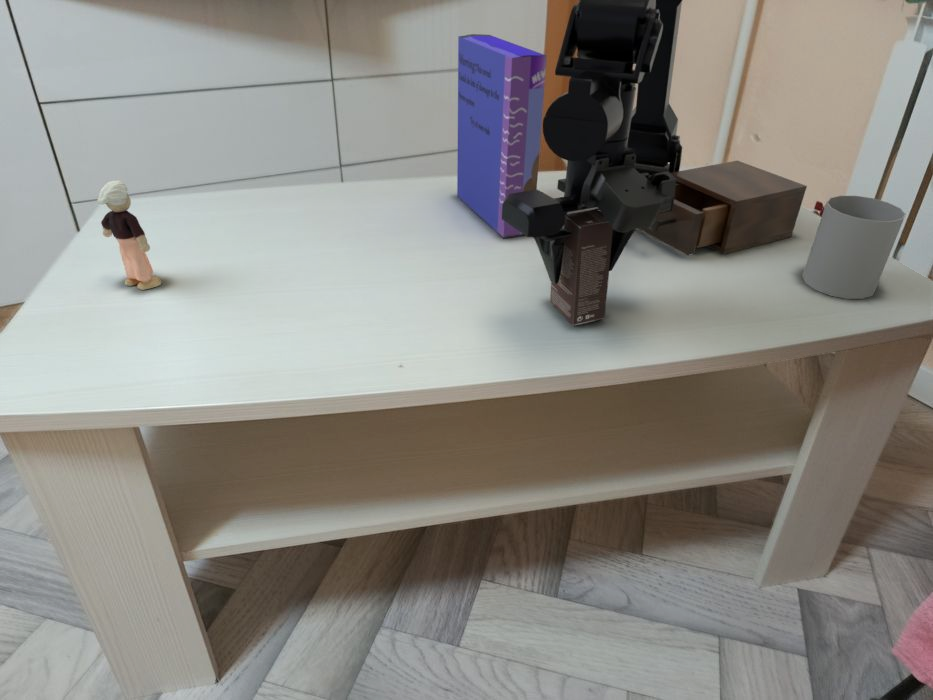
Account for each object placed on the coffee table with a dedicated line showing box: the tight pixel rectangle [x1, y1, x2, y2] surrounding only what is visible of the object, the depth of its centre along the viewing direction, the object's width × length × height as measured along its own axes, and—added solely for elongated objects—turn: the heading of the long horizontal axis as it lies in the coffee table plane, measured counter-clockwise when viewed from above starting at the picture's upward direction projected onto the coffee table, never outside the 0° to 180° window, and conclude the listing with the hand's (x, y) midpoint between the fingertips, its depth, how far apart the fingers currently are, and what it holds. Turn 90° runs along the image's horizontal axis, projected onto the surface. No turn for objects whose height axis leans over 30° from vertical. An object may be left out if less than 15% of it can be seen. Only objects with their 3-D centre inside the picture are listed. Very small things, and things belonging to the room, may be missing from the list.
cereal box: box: [456, 33, 547, 239], centre depth 95 cm, size 17×5×24 cm, turn 23°
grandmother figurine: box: [97, 179, 162, 291], centre depth 78 cm, size 8×4×13 cm, turn 71°
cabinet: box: [671, 160, 808, 255], centre depth 96 cm, size 14×13×8 cm
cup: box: [801, 195, 906, 300], centre depth 81 cm, size 8×8×10 cm
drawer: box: [637, 182, 731, 256], centre depth 92 cm, size 17×11×6 cm
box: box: [549, 210, 613, 326], centre depth 74 cm, size 6×4×12 cm
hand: (581, 276), depth 74 cm, fingers closed on box, 7 cm apart
